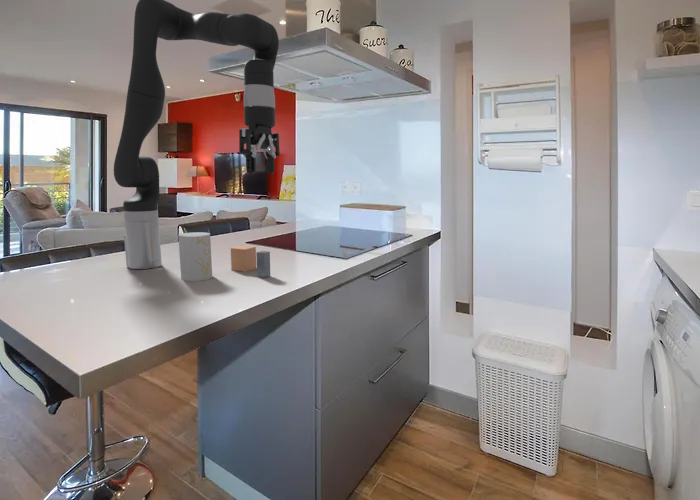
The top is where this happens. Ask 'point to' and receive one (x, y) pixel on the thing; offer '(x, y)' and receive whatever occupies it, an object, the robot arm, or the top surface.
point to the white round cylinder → (195, 256)
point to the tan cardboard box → (243, 258)
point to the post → (263, 264)
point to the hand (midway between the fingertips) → (261, 173)
